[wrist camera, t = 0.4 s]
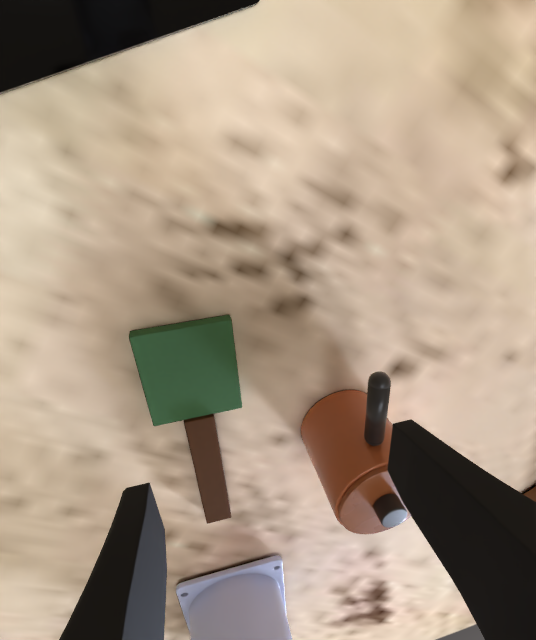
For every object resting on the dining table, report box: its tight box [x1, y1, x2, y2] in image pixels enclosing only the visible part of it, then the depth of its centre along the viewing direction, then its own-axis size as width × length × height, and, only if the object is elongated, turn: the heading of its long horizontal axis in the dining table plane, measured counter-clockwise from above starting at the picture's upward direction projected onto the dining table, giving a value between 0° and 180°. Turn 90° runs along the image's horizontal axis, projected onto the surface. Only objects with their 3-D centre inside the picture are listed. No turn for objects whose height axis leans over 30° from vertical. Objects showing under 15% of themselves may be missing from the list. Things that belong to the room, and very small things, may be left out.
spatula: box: [129, 315, 242, 524], centre depth 22 cm, size 14×5×1 cm, turn 4°
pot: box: [301, 372, 411, 534], centre depth 21 cm, size 10×5×7 cm, turn 4°
